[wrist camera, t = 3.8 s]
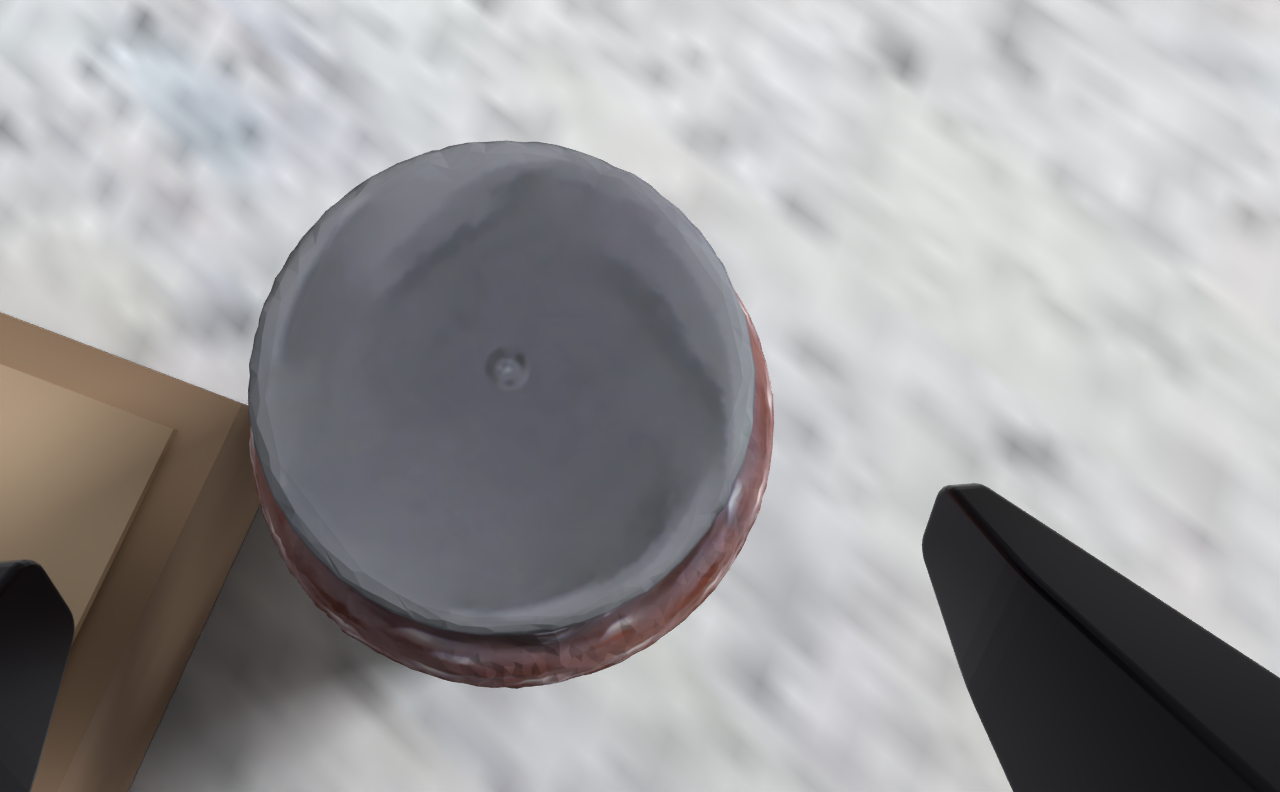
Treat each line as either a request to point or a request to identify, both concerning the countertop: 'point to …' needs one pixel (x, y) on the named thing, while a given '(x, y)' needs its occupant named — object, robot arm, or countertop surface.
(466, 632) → the supplement bottle
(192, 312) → the countertop surface
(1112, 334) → the countertop surface
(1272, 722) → the robot arm
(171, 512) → the walnut plinth
